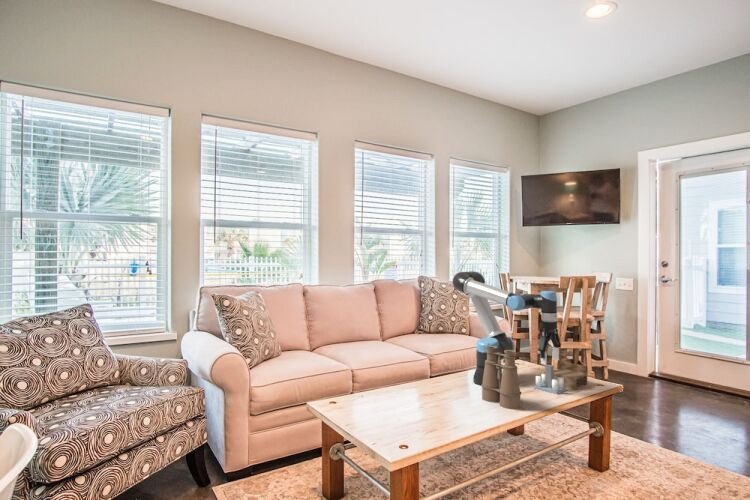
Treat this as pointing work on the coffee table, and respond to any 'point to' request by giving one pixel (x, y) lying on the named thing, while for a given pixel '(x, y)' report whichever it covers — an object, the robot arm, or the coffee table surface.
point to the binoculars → (501, 379)
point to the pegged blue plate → (549, 381)
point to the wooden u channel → (571, 374)
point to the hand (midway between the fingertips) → (550, 362)
